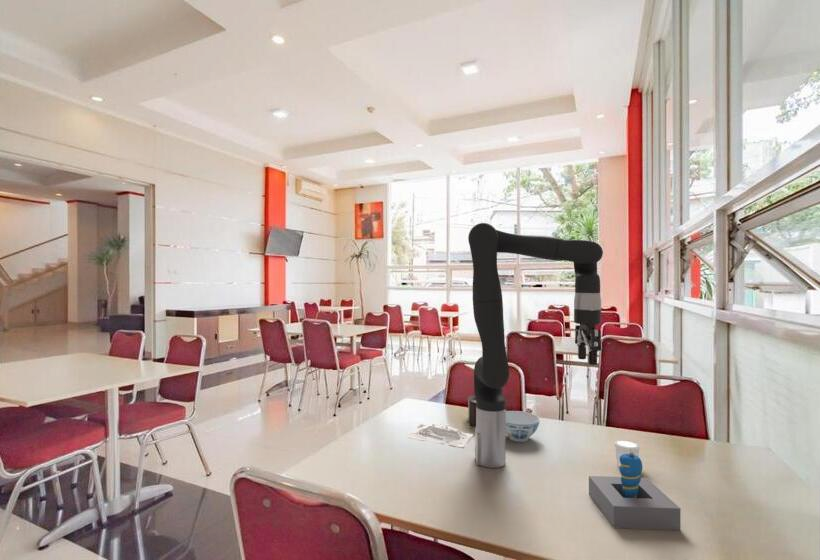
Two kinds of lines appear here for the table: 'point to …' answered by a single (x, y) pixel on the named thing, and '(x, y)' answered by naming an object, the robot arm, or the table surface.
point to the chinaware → (521, 425)
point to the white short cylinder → (625, 449)
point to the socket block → (634, 505)
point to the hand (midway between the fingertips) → (587, 361)
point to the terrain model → (441, 435)
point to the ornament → (630, 474)
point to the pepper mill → (472, 410)
